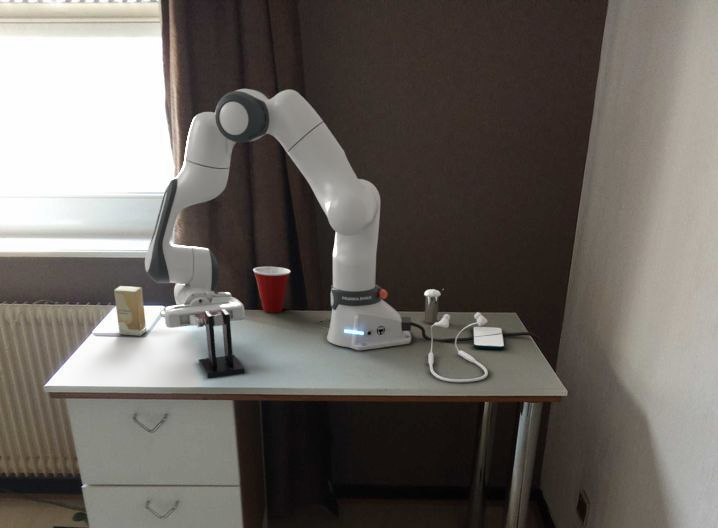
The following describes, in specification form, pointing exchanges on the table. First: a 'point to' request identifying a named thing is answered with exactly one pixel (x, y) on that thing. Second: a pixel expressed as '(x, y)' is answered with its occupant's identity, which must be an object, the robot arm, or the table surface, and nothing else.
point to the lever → (216, 320)
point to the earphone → (445, 323)
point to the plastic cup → (272, 287)
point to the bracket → (229, 361)
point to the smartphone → (488, 338)
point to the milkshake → (431, 305)
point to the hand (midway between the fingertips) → (210, 322)
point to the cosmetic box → (130, 310)
